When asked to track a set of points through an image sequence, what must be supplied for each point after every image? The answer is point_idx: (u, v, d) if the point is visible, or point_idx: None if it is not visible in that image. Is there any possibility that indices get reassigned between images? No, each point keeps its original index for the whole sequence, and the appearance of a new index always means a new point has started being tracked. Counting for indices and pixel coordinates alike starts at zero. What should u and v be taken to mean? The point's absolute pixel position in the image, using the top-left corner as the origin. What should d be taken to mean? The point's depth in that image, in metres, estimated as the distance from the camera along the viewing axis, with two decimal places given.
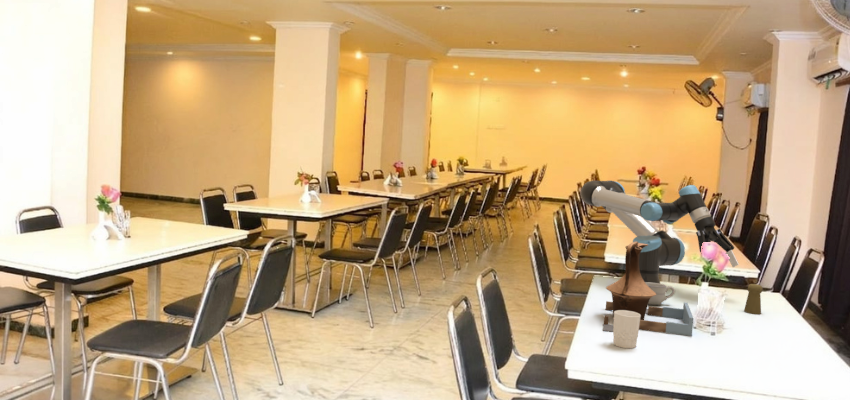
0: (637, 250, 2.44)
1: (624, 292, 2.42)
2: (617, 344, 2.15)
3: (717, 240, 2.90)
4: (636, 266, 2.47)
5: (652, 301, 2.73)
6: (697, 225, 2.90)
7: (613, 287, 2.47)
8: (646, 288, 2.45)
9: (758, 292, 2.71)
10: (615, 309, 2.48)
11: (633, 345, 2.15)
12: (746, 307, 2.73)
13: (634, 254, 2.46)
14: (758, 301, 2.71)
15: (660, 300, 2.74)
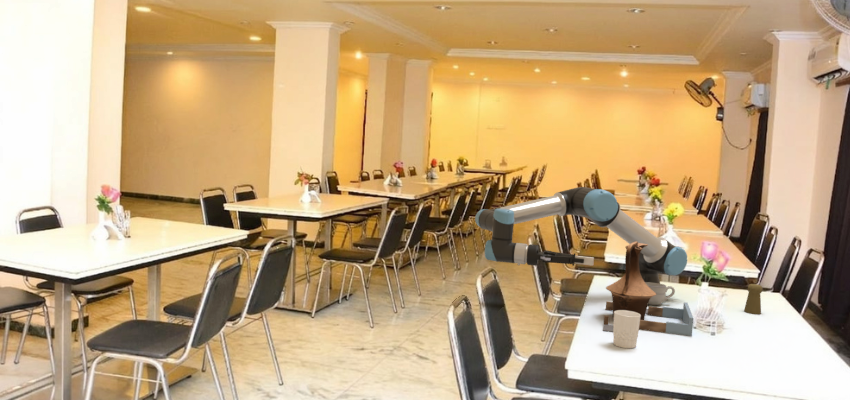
0: (637, 250, 2.44)
1: (624, 292, 2.42)
2: (617, 344, 2.15)
3: None
4: (636, 266, 2.47)
5: (652, 301, 2.73)
6: None
7: (613, 287, 2.47)
8: (646, 288, 2.45)
9: (758, 292, 2.71)
10: (615, 309, 2.48)
11: (633, 345, 2.15)
12: (746, 307, 2.73)
13: (634, 254, 2.46)
14: (758, 301, 2.71)
15: (660, 300, 2.74)
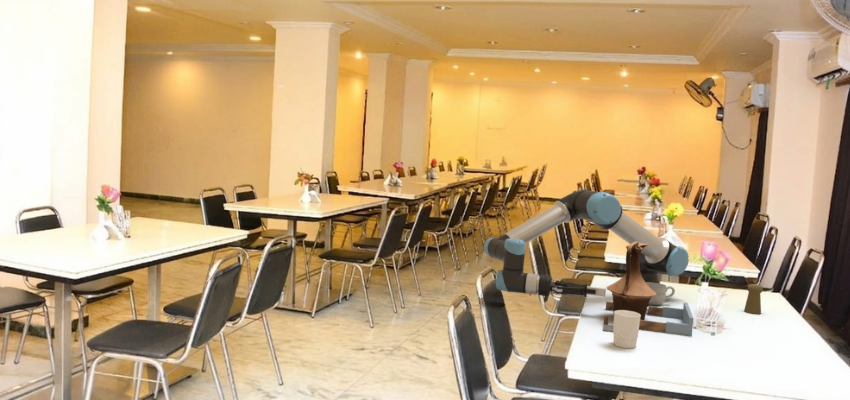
0: (638, 250, 2.44)
1: (624, 292, 2.42)
2: (617, 344, 2.15)
3: None
4: (637, 266, 2.47)
5: (652, 301, 2.73)
6: None
7: (613, 287, 2.47)
8: (646, 288, 2.45)
9: (758, 292, 2.71)
10: (615, 309, 2.48)
11: (633, 345, 2.15)
12: (746, 307, 2.73)
13: (635, 254, 2.46)
14: (758, 301, 2.71)
15: (660, 300, 2.74)
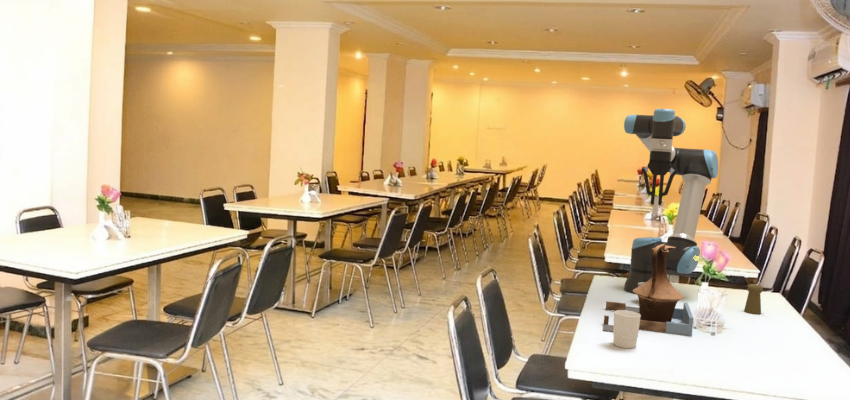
0: (664, 253, 2.42)
1: (650, 295, 2.40)
2: (617, 344, 2.15)
3: (660, 177, 2.64)
4: (663, 269, 2.44)
5: None
6: None
7: (639, 290, 2.46)
8: (673, 291, 2.43)
9: (758, 292, 2.71)
10: (641, 312, 2.46)
11: (633, 345, 2.15)
12: (746, 307, 2.73)
13: (661, 257, 2.44)
14: (758, 301, 2.71)
15: None
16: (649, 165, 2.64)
